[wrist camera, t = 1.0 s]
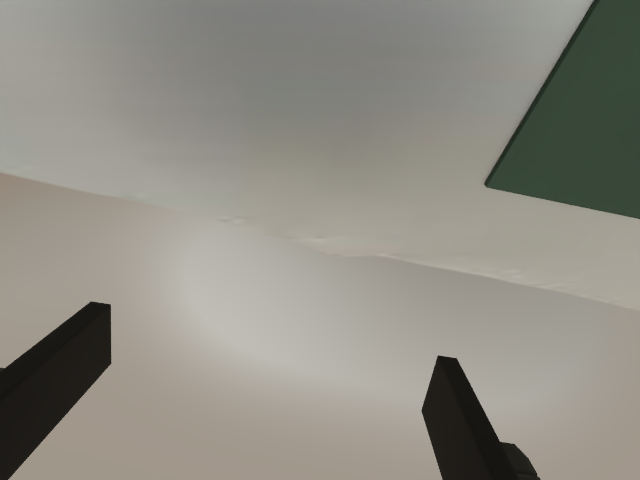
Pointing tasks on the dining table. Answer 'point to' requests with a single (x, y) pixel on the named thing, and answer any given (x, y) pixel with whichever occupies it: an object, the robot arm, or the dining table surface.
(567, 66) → the mat
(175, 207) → the dining table surface
